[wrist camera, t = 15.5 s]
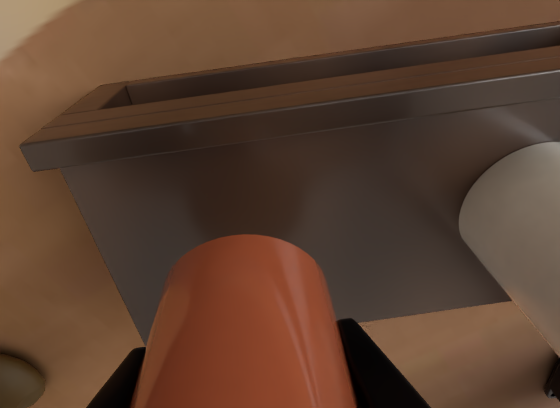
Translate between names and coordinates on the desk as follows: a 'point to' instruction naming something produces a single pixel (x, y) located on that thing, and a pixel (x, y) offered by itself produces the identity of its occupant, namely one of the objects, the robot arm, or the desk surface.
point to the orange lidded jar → (245, 332)
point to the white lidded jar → (520, 232)
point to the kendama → (19, 383)
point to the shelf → (311, 164)
